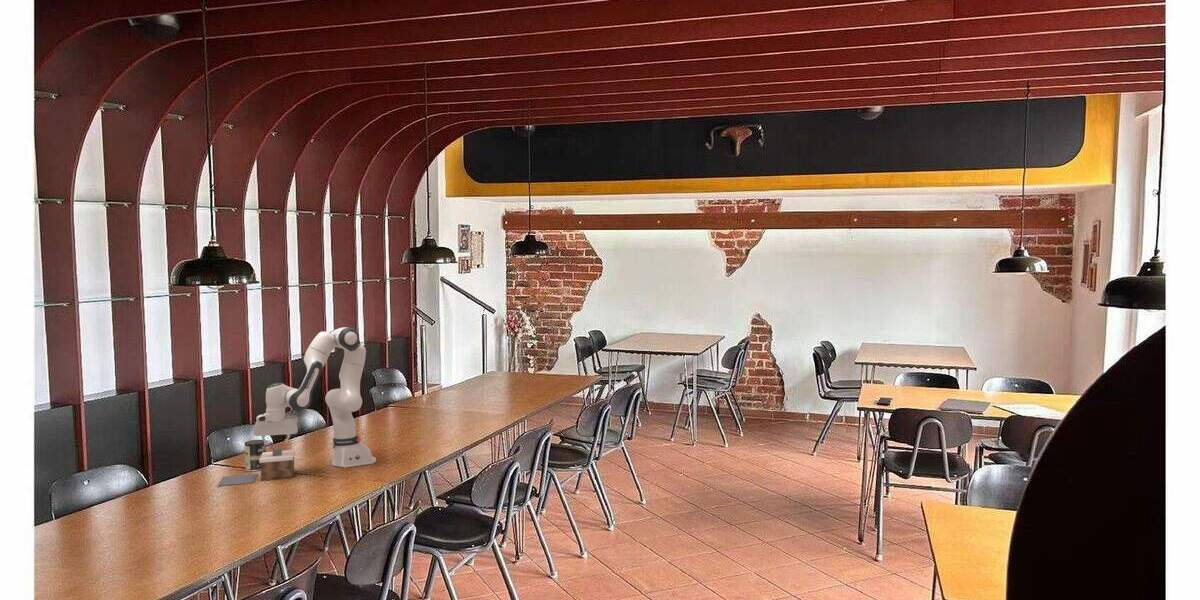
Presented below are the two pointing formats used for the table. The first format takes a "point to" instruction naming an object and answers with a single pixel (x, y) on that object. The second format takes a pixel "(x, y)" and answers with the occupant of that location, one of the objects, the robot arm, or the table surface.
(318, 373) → the robot arm
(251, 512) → the table surface
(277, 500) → the table surface
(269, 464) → the storage box
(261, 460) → the lid
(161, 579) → the table surface
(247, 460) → the coffee can
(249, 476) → the mat
